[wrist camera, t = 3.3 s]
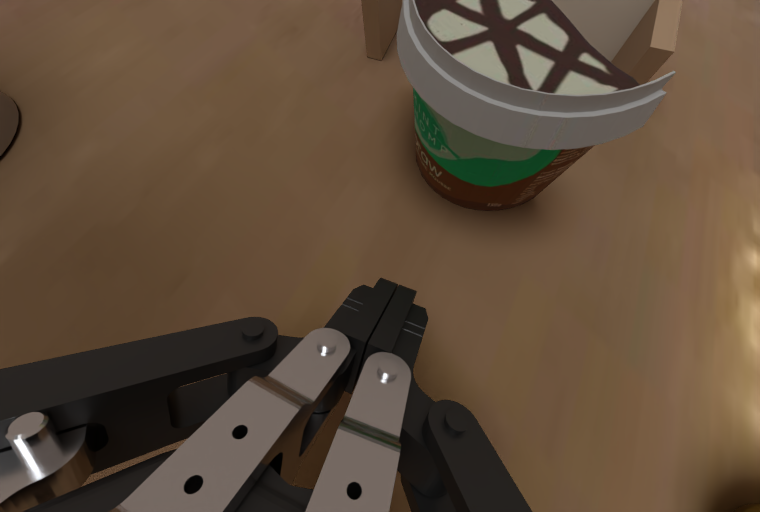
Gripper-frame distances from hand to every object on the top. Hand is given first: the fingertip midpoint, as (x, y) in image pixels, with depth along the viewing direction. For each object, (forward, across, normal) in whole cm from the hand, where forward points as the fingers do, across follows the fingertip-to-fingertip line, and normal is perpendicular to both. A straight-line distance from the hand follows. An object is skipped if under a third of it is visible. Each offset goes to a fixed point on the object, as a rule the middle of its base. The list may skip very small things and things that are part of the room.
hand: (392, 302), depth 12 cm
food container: (+12, 0, -3) cm, 12 cm away
